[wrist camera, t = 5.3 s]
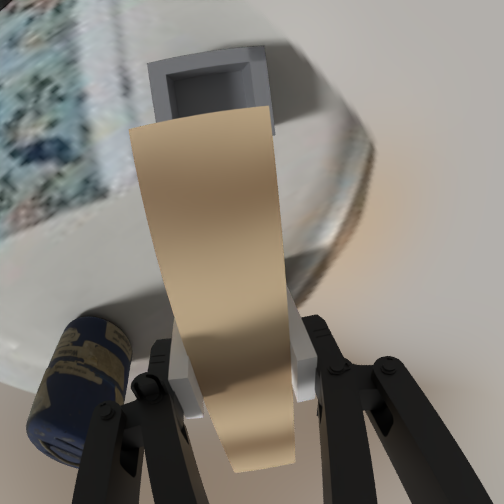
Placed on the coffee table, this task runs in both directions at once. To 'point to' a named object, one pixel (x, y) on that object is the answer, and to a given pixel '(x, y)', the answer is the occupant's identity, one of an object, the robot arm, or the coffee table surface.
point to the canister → (78, 387)
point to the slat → (225, 271)
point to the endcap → (210, 83)
